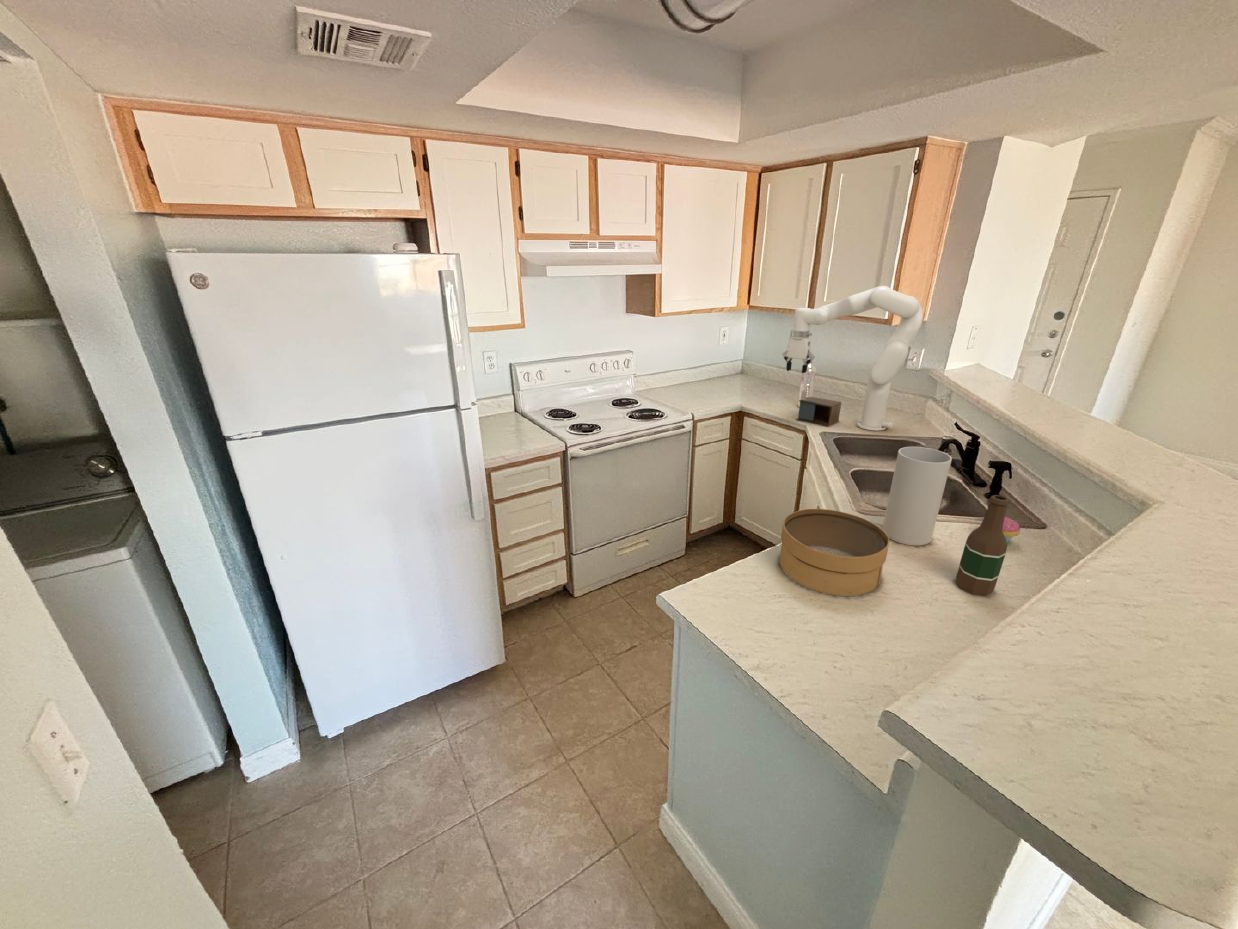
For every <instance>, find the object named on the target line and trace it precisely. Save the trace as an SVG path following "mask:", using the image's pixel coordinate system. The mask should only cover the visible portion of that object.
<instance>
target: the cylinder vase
mask: <svg viewBox="0 0 1238 929" xmlns="http://www.w3.org/2000/svg"><path fill="white" fill-rule="evenodd" d="M952 460H953V457H952V456H951V455H949V454H948V453H946V452H944V451H941V450H938V449H934V448H929V447H924V446H905V447H901V448H899V449H898V451H897V456H896V461H895V467H894V471H893V474H892V475H893V476H892V481H891V485H890V489H889V495H888V499H887V504H886V507H885V508H886V510H885V513H884V518H883V523H882V528H881V529H882V530H883V531H884V532H885V533H886V534H887V535H888V537H889V540H892V541H894V542H897V543H899V544H903V545H905V546H912V547H913V546H914V547H915V546H916V547H919V546H925V545H927V544H930V543H931V541H932V539H933V535H934V531H935V528H936V524H937V519H938V515H939V512H940V507H941V503H942V500H943V496H944V492H945V488H946V483H947V481H948V477H949V473H950V469H951V468H950V467H951V465H952Z"/></svg>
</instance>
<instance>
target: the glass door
mask: <svg viewBox="0 0 1238 929" xmlns="http://www.w3.org/2000/svg"><path fill="white" fill-rule="evenodd" d="M806 395H807V392H806V391H802V394H801V401H806ZM807 402H812V401H807ZM812 403H816V402H812ZM815 406H816V405H815V404H809V403H804V402H800V407H798V417H797V418H798V419H799V418H801V419H806V420H811V421H813V420H814V413H815Z"/></svg>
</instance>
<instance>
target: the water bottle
mask: <svg viewBox="0 0 1238 929" xmlns="http://www.w3.org/2000/svg"><path fill="white" fill-rule="evenodd" d="M816 372H817V369H816V367H815V365H814V364H813V360H812V361H811V362H810V363H809V364H808V366H807V371H806V373H802V372H801V380H800V386H799V393H798V402H797V406H798V408H799V407H800V402H799V400H801V394H802V391H806V392H807V395H806V398H808V397H813V396H814V395H813V394H814V388H815V378H816Z"/></svg>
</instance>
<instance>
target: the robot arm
mask: <svg viewBox="0 0 1238 929" xmlns="http://www.w3.org/2000/svg"><path fill="white" fill-rule="evenodd" d="M877 308H878V309H881V310H883V311H885V312H888V313H890V314H892V315H895V316H897V317H900V320H899V323H898V325H897V326H896V328H895V329H894V331H893V333H892V335H891V336H890V338H889V340H888V341H887V342H886V344H885V345H884V347H883V350H882V352H881V354H880V356H879V357H878V359H877V360H876V361H875V362H873V363H872V365H871V367H870V369H869V373H868V380H867V387H866V392H865V398H864V405H863V410H862V415H861V420H860V421H858V422H857V423H856V426H857V427H858V428H860V429H862V430H866V431H867V430H868V431H874V432H875V431H876V432H877V431H884V430H886V429H887V428H890V429H893V425H894V424H893V422H890V421H887V418H885V416H886V411H887V406H888V401H889V397H890V392H891V386H892V381H893V379H894V377H895V376H896V375H897V373H898V371H899V370H900V368H901V367H902V365H903V364H904V362H905V360H906V359H907V357H908V355H909V348H910V346H911V344H912V343H913V341H914V339H915V338H916V336H917V334H918V333H919V331H920V329H921V326H922V324H923V320H924V311H923V308H922V305H921V303H920V302H919V301H918V299H917V298H916V297H915V296H912V295H907V294H905V293H902V292H899V291H897V290H895V289H892V288H890V286H888V285H879V286H876V287H872V288H870V289H866V290H864V291H862V292H858V293H855V294H853V295H852V294H851V295H849V296H846V297H844V298H842V299H839V300H837V301H833V302H831V303H828V304H824V305H822V306H819V307H817V308H810V307H797V308H795V310H794V311H795V312H794V316H793V317H794V318H793V327H792V334H791V337H790V339H789V343H788V345H787V346H788V347H787V349H786V350H785V351H783V352H782V353H781V355H782V357H783V359H784V360H785V363H786V366H785V368H786V372H789V371H791V370H792V365H793V364H792V360H793V359H795V360H801V361H802V363H803V364H802V367H801V374H802V373H806V371H807V366H808V364H809V363H810V362H811V361H812V362H813V360H814V359H815V358H816V357H815V355H814V354H813V353H812V351H811V349H812V340H811V336H812V332H811V331H810V330H811V325H815V326H822V325H824V324H825V323H827V322H829V321H833V320H836V319H838V318H839V319H840V318H842V317H847V316H848V317H849V316H854V315H855V316H856V315H858V314H861V313H864V312H867V311H871V310H873V309H877Z"/></svg>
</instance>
